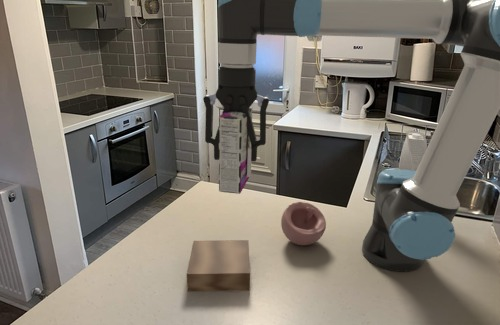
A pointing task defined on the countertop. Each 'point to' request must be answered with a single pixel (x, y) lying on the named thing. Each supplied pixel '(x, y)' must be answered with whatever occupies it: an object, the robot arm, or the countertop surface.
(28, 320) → the countertop surface
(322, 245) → the countertop surface
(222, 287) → the walnut block
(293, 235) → the mortar and pestle
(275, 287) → the countertop surface
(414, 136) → the skyscraper
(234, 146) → the candy bar box
